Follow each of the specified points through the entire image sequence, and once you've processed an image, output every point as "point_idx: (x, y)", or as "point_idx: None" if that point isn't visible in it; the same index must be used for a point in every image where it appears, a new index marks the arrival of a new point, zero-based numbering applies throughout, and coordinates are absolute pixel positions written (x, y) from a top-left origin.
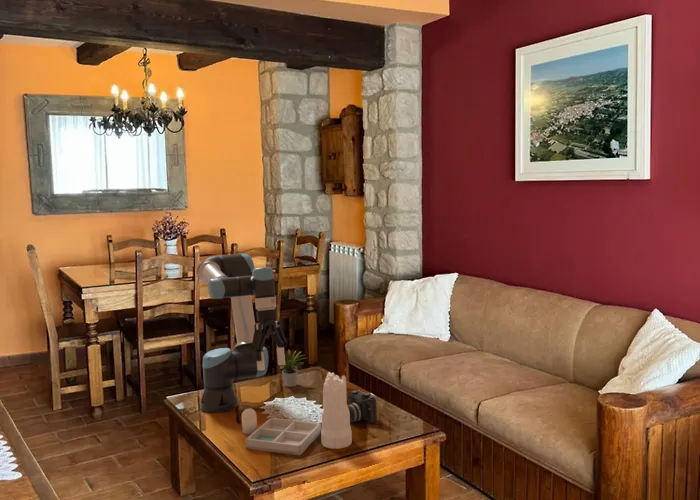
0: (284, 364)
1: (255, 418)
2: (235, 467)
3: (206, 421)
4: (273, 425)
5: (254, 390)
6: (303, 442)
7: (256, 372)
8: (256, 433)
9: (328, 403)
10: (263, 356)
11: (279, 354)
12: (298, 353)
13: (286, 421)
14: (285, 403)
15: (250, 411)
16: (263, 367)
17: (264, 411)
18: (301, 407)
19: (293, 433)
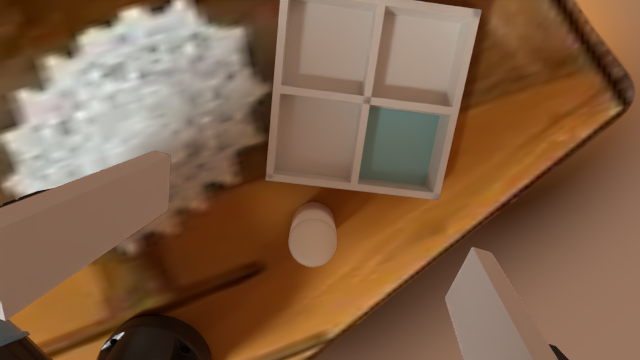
0: (165, 156)
1: (317, 217)
2: (539, 179)
3: (269, 349)
4: (278, 163)
5: None
6: (447, 5)
7: (18, 343)
8: (382, 185)
9: None
10: (535, 356)
11: (89, 238)
12: None
13: (278, 120)
14: None
15: (324, 241)
16: (499, 268)
17: (162, 229)
18: (95, 124)
19: (375, 65)
